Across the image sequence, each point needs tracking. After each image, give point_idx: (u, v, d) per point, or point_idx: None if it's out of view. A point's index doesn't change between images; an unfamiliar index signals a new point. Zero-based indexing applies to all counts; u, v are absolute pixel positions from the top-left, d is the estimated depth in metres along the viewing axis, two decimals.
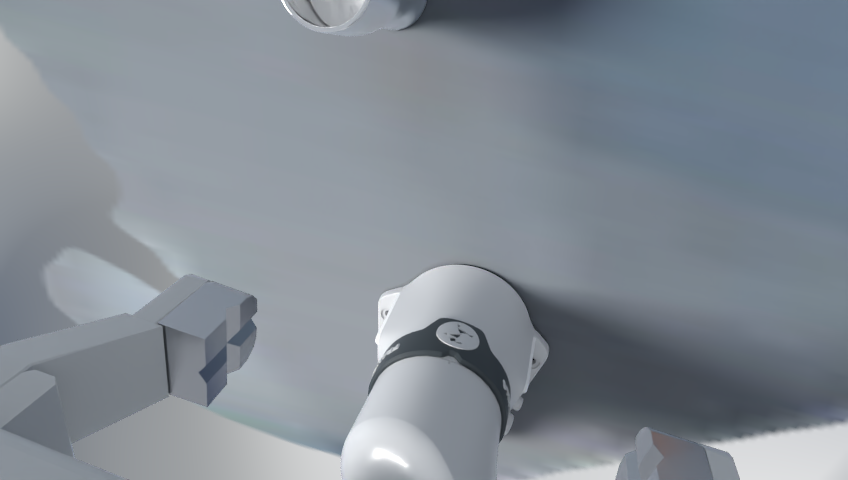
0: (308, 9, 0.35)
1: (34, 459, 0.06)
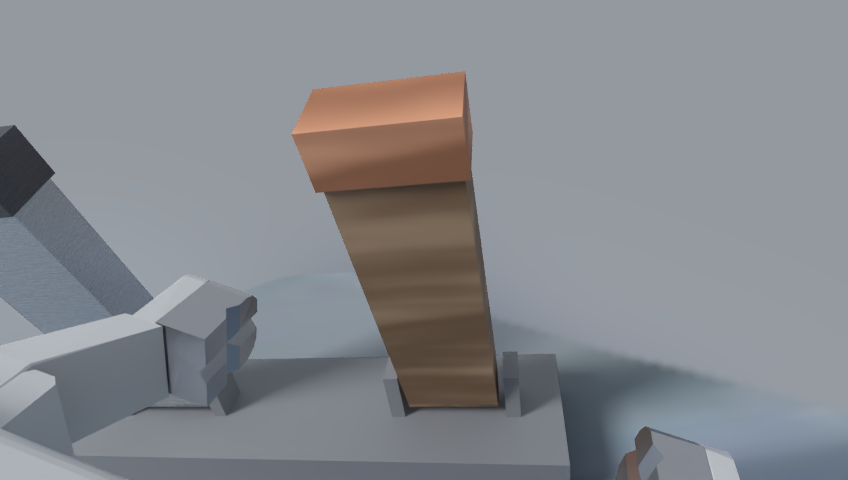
0: None
1: (34, 459, 0.06)
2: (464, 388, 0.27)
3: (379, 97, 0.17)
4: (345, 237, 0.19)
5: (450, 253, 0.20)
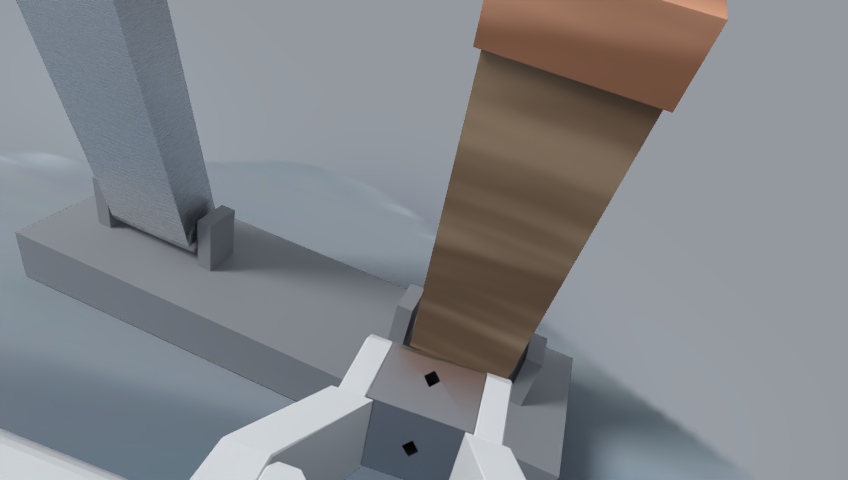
0: None
1: (34, 459, 0.06)
2: (480, 352, 0.24)
3: None
4: (468, 122, 0.16)
5: (576, 195, 0.16)
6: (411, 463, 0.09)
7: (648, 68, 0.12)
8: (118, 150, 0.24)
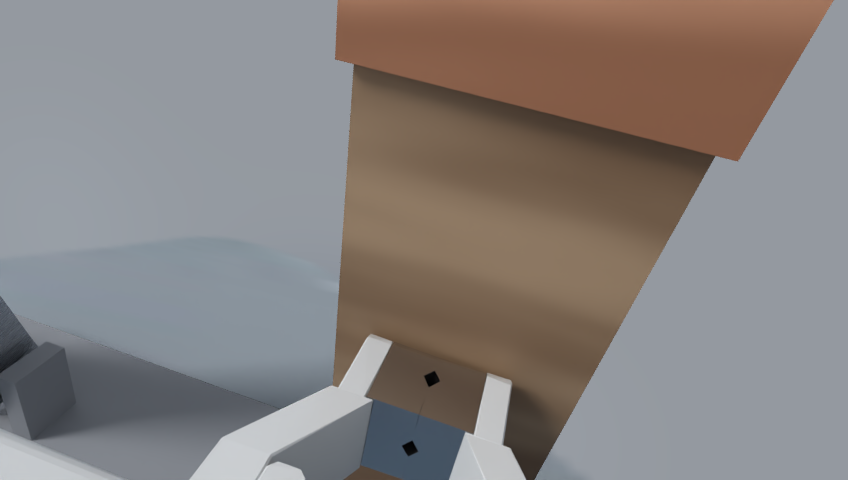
0: None
1: (34, 459, 0.06)
2: None
3: None
4: (352, 204, 0.09)
5: (555, 322, 0.09)
6: (411, 463, 0.09)
7: (685, 73, 0.06)
8: None
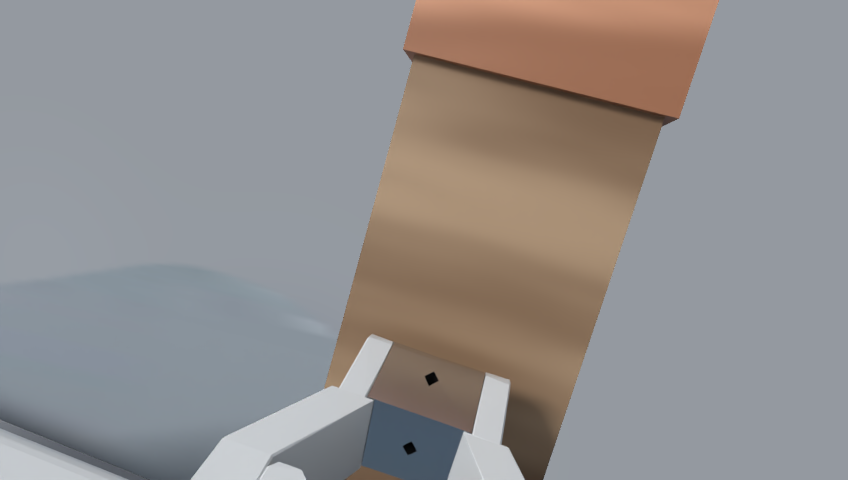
0: None
1: (34, 459, 0.06)
2: None
3: None
4: (389, 173, 0.11)
5: (555, 283, 0.10)
6: (410, 462, 0.09)
7: (638, 57, 0.09)
8: None
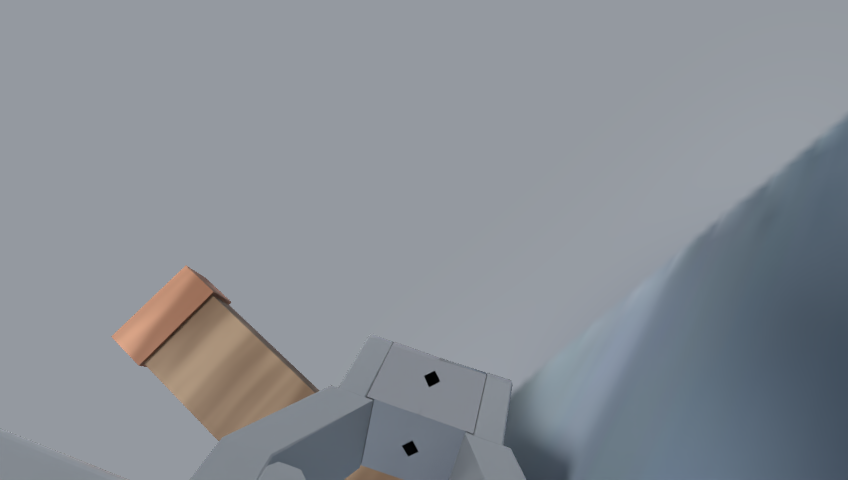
0: None
1: (34, 459, 0.06)
2: None
3: None
4: (174, 391, 0.27)
5: (243, 350, 0.28)
6: (412, 462, 0.09)
7: (189, 295, 0.29)
8: None
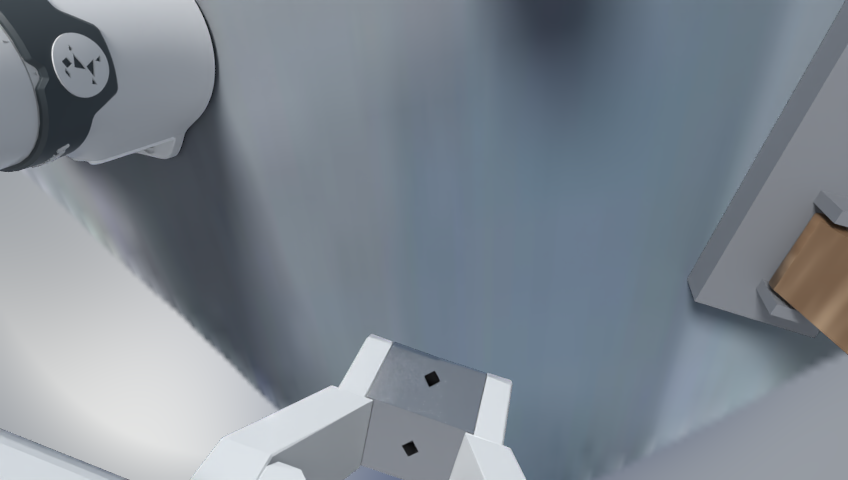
0: None
1: (34, 459, 0.06)
2: (809, 285, 0.30)
3: None
4: None
5: None
6: (411, 463, 0.09)
7: None
8: None
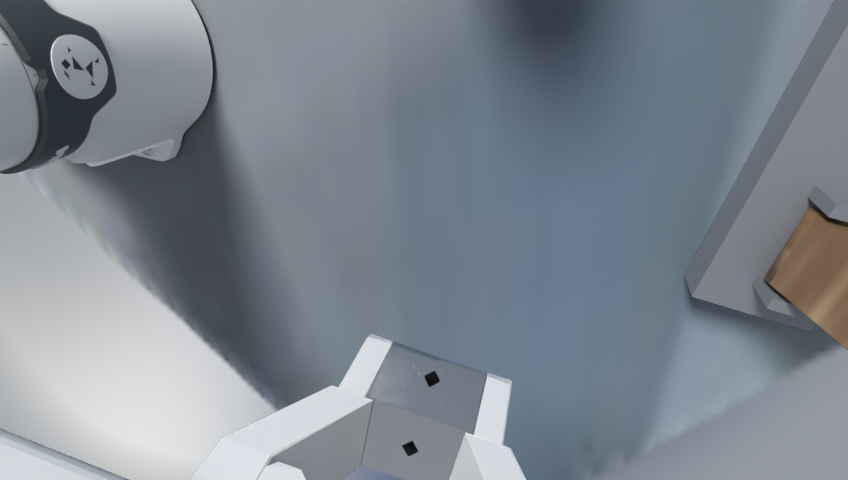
0: None
1: (34, 459, 0.06)
2: (805, 278, 0.30)
3: None
4: None
5: None
6: (411, 463, 0.09)
7: None
8: None
